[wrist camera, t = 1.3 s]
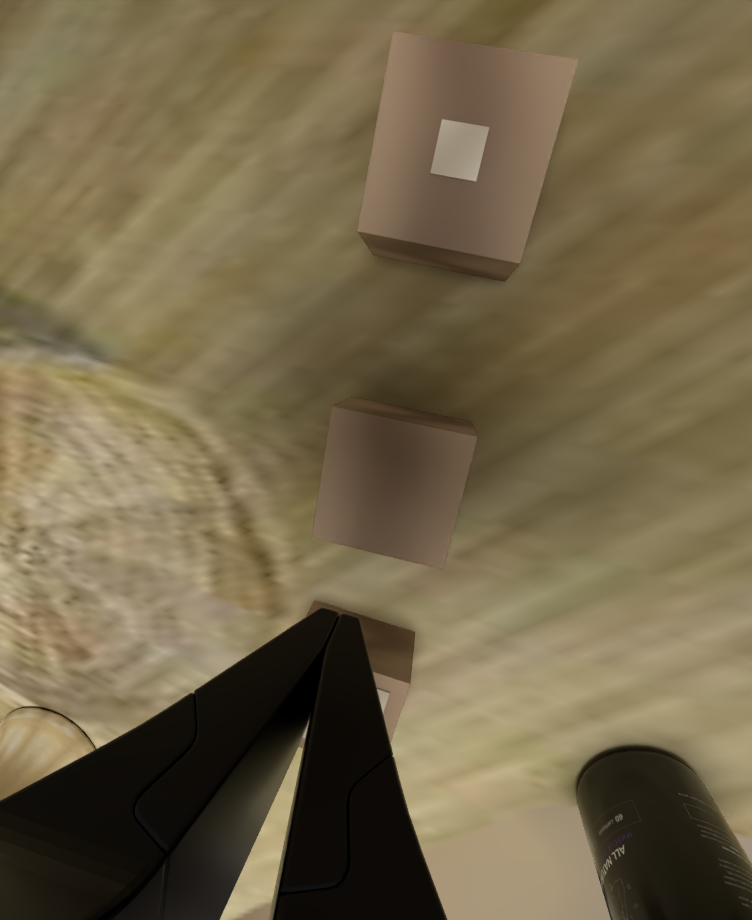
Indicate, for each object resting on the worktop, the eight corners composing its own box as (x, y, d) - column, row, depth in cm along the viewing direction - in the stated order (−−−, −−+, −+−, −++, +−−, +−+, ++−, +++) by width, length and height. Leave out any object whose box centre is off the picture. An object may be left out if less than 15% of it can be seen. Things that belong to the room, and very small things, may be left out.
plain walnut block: (471, 421, 20) (477, 436, 16) (443, 531, 22) (443, 569, 18) (352, 396, 21) (331, 406, 17) (333, 505, 22) (311, 537, 19)
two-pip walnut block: (415, 630, 24) (410, 685, 20) (389, 710, 25) (379, 776, 21) (315, 598, 24) (290, 646, 20) (296, 679, 26) (269, 738, 22)
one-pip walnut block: (547, 126, 17) (579, 57, 13) (504, 282, 18) (520, 263, 15) (403, 102, 17) (392, 28, 13) (374, 255, 19) (356, 230, 15)
